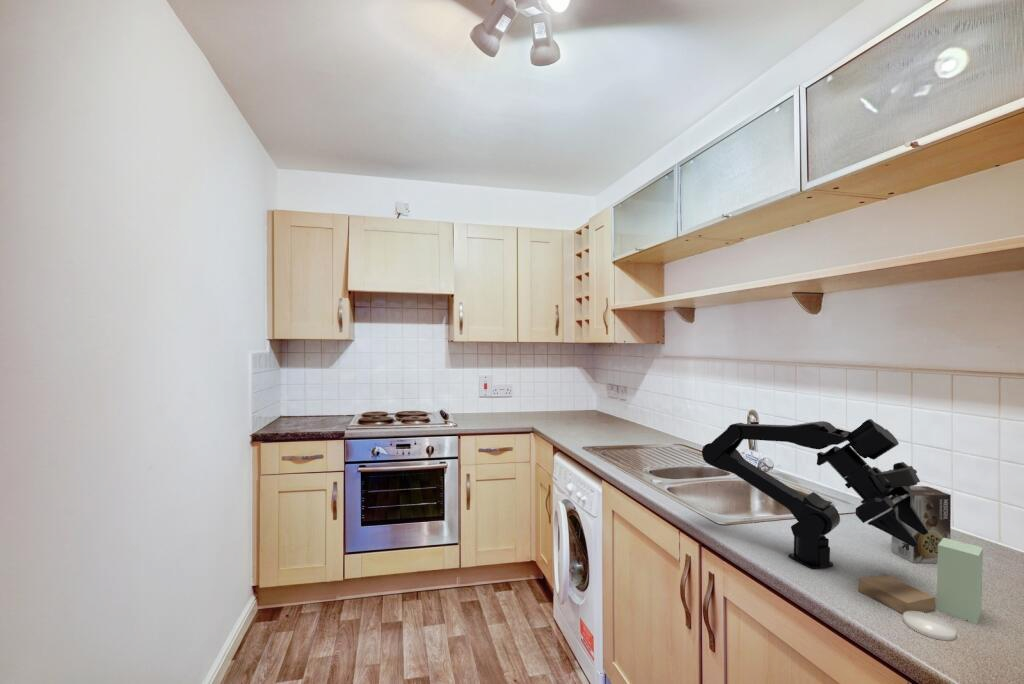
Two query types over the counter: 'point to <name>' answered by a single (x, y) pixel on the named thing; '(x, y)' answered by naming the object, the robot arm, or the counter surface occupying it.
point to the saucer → (929, 625)
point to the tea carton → (959, 579)
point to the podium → (896, 594)
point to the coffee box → (926, 525)
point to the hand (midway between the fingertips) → (921, 539)
